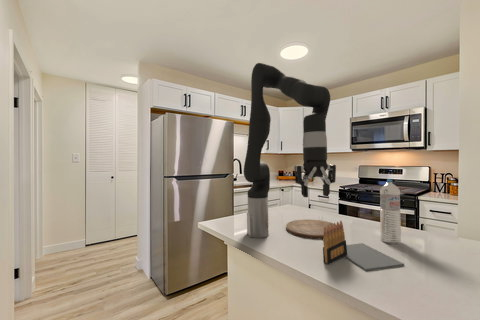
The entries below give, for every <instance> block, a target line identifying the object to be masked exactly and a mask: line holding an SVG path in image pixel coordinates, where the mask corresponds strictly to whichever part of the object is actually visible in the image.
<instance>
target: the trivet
mask: <svg viewBox="0 0 480 320" xmlns="http://www.w3.org/2000/svg"><path fill="white" fill-rule="evenodd" d="M334 223H335V222H334ZM334 223H333V222H330V221H327V220H320V219H319V220H318V219H308V218H307V219H297V220H296V219H295V220H292V221H291V220H290V221H289V222H287V223H285V229H286V231H287V232H288V234H289V233H290V234H291V235H294V236H297V237H300V238H301V237H302V238H304V239H313V240H314V239H315V240H323V239H324V227H326V229H327V226H328V225H329V227H330V226H331V224H332V225H333V226H334Z"/></svg>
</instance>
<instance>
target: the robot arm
mask: <svg viewBox="0 0 480 320" xmlns="http://www.w3.org/2000/svg"><path fill="white" fill-rule="evenodd" d="M250 82H251V90H250V92H251V96H250V97H251V102H250V113H249V114H250V115H249V123H248V124H249V125H248V139H247V147H246V148H247V149H246V154H245V159H244V160H245V161H244V165H243V176H244V178H245V181H247V182H248V183H252V185H251V187H250V188H249V189H248V191H247V213H246V231H247V232H246V233H247V235H248V236H249V237H250V238H256V239H257V238H258V239H260V238H266V237H268V236H269V235H270V234H269V231H270V230H269V192H270V184H271V183H270V181H271V171H270V167H269V165H268V164H267V162H265V161H261V158H262V157H261V155H262V151H263V148H264V146H265V144H266V142H267V139H268V138H269V135H270V132H271V120H272V119H271V118H272V117H271V114H270V112H269V108H268V107H267V103H266V101H265V99H264V88H266V89H276V90H279V91H280V92H281V93H282V94H283V95H284V96H286V97H289V98H290V99H293V100H294V101H295V102H296V103H297V104H298V105H300V106H302V107H305V108H312V111H311V113H310V114H307V115H305V116H304V117H303V122H302V123H303V126H302V127H303V138H302V146H303V148H302V152H303V153H302V156H303V164H302V165H294V167H293V168H294V178H295V179H294V180H295V184H298V185H300V186H301V187H300V189H301V190H300V191H301V192H300V193H301V195H302V197H303V198H308V197H309V186H308V184H309V183H310V181H311V180H312V178H319V179H320V180H321V181H322V183H323V184H322V195H323V196H324V197H329V195H330V193H331V189H330V188H331V187H330V186H331V184H333V183H334V184H335V183H336V173H337V171H336V170H337V169H336V168H337V166H336V164H328V163H327V161H328V140H327V139H328V138H327V124H326V120H327V116H328V112H329V107H330V103H331V93H330V91H329V89H328V88H327V87H326V86H323V85H321V86H320V85H316V84H310V83H307V82H306V81H304V80H303V79H300V78H298V77H294V76H291V75H288V74H285V73H284V72H282V71H281V70H279V68H276V67H275V66H273V65H270V64H267V63H266V64H265V63H264V62H263V63H262V62H258V63H255V65H254V66H253V68H252V71H251V81H250ZM303 171H304V174H302V172H303ZM327 171H328V172H327ZM327 173H328V174H327Z"/></svg>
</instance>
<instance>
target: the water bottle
mask: <svg viewBox="0 0 480 320" xmlns="http://www.w3.org/2000/svg"><path fill="white" fill-rule="evenodd" d="M379 193H380V194H379V195H380V198H379V199H380V200H379V201H380V203H379V204H380V205H379V206H380V210H379V211H380V214H379V215H380V216H379V217H380V219H379V220H380V240H381V241H382V242H383V243H385V244H390V245H399V244H400V243H401V240H402V239H401V238H402V231H401V230H402V229H401V227H402V226H401V225H402V224H401V223H402V222H401V196H400V195H401V190H400V188H399V187H398V186H396V184H394V183H393V179H386V183H385V184H384V185H382V186H381V187H380V188H379Z"/></svg>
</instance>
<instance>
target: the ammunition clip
mask: <svg viewBox="0 0 480 320" xmlns="http://www.w3.org/2000/svg"><path fill="white" fill-rule="evenodd" d="M345 237H346V236H345V231H344V224H343V221H342V220H340V221H339V222H338V221H337V222H334V226H333V225H332V224H331V226H330V227H329V225H328V226H327V229H326V227H324V239H322V241H323V246H322V254H323V257H322V258H323V264H326V265H329V266H330V265H331V264H333V263H334V262H337V261H338V260H340V259H342V258H345V257H344V256H346V255H347V246H346V245H347V240H346V238H345Z"/></svg>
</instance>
